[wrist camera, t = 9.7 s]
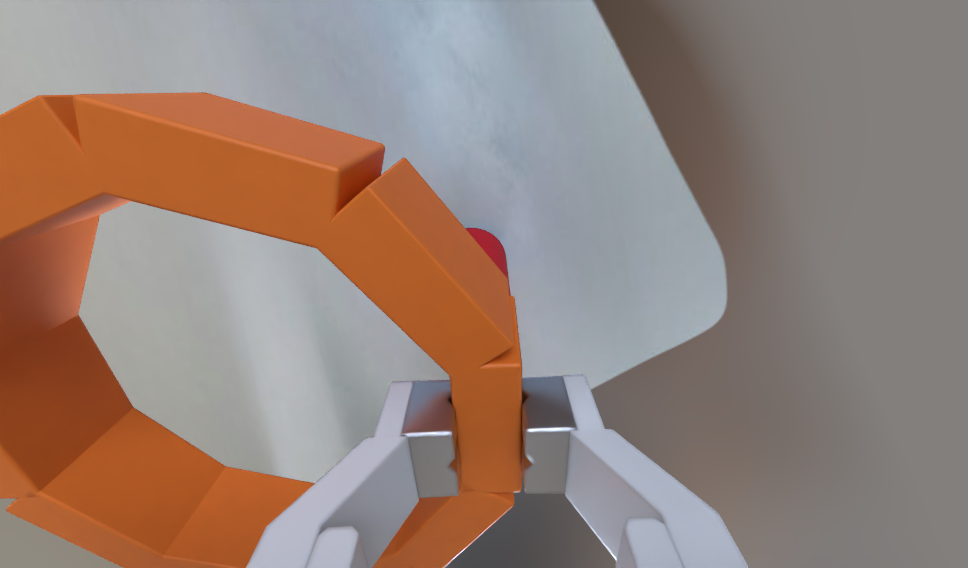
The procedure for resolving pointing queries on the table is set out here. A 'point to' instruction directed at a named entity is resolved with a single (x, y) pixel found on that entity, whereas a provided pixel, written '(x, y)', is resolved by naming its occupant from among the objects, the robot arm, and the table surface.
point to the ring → (253, 207)
